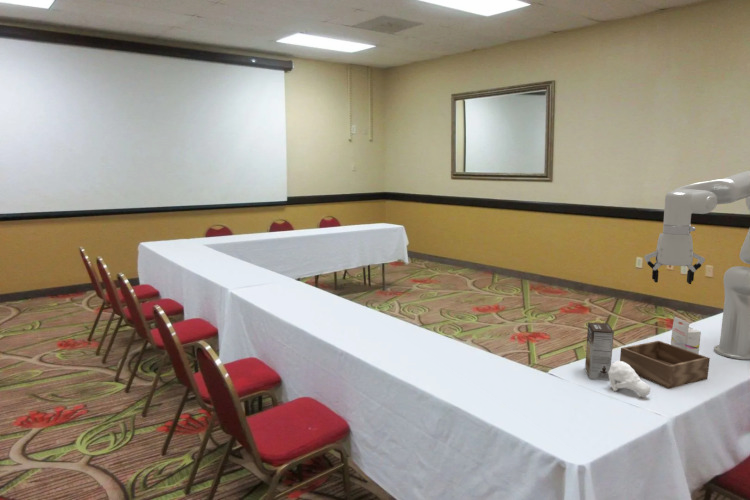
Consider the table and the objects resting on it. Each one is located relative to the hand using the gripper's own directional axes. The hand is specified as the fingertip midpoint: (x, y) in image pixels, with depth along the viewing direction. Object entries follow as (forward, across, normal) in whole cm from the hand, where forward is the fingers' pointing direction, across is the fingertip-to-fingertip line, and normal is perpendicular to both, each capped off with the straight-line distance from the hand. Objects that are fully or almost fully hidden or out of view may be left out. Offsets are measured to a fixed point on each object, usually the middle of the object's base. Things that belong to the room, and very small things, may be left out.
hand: (672, 282), depth 174 cm
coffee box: (+29, +22, +14) cm, 39 cm away
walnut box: (+29, +2, +6) cm, 30 cm away
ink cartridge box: (+30, -7, -9) cm, 32 cm away
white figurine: (+29, +14, +26) cm, 41 cm away
